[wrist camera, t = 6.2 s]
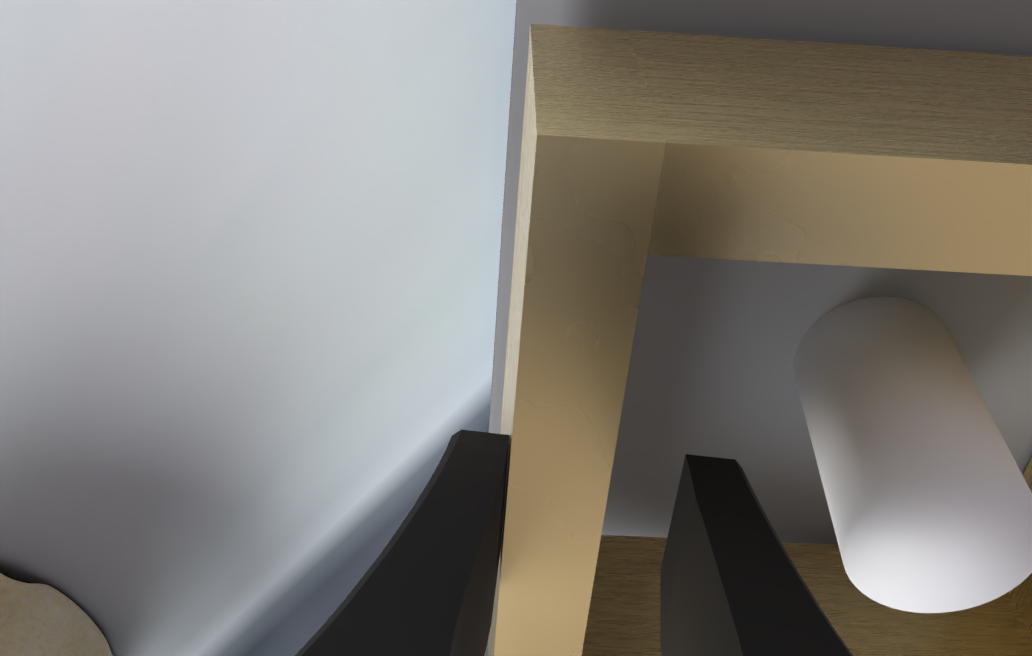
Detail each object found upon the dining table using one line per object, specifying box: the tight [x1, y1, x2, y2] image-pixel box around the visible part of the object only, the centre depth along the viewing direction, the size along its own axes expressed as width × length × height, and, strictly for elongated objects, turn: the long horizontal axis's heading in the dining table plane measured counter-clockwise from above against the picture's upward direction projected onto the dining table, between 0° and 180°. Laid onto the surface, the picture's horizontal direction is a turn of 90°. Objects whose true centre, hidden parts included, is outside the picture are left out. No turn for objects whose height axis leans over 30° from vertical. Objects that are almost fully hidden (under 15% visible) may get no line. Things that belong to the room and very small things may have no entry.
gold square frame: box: [488, 24, 1032, 656], centre depth 13 cm, size 10×10×4 cm
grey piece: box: [489, 0, 1032, 613], centre depth 14 cm, size 14×12×6 cm
